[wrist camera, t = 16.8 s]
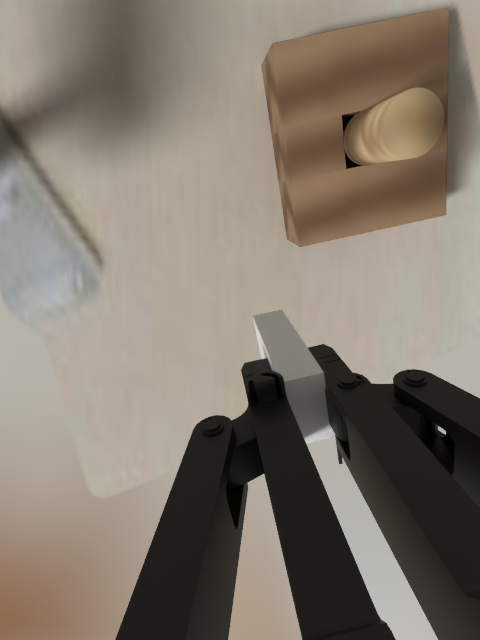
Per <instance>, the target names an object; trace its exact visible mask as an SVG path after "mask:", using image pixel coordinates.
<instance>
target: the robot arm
mask: <svg viewBox="0 0 480 640" xmlns="http://www.w3.org/2000/svg"><path fill="white" fill-rule="evenodd" d="M253 319H254V324H255V329H256V334H257V339H258V344H259V350H260V355H261V359H260V360H256V361H252V362H247V363H244V365H243V367H242V369H241V371H242V376H243V380H244V385H245V389H246V394H247V398H248V408H247V410H246V411H245V413H243V414H242V415H241V416H240V417H238V418H236V419H234V420H232V421H231V420H230V419H229V418H228V417H225V416H219V415H216V416H211V417H208V418H206V419H204V420H202V421H200V422H199V423H198V424H197V425H196V426H195V428H194V430H193V432H192V435H191V437H190V440H189V443H188V446H187V448H186V451H185V454H184V456H183V459H182V462H181V464H180V467H179V470H178V473H177V476H176V478H175V481H174V483H173V486H172V489H171V491H170V494H169V497H168V500H167V502H166V505H165V508H164V510H163V513H162V516H161V518H160V521H159V524H158V527H157V529H156V532H155V535H154V537H153V540H152V543H151V545H150V548H149V551H148V553H147V556H146V559H145V562H144V564H143V567H142V570H141V572H140V575H139V578H138V580H137V583H136V586H135V589H134V591H133V594H132V597H131V599H130V602H129V605H128V608H127V610H126V613H125V615H124V618H123V621H122V624H121V626H120V629H119V632H118V634H117V637H116V640H228V636H229V628H230V620H231V613H232V605H233V597H234V590H235V583H236V575H237V567H238V560H239V552H240V544H241V537H242V529H243V522H244V514H245V506H246V499H247V491H248V485H247V482H249V481H251V480H253V479H255V478H256V477H258V476H260V475H262V474H265V478H266V482H267V487H268V491H269V495H270V500H271V504H272V509H273V513H274V517H275V522H276V526H277V531H278V535H279V539H280V544H281V548H282V552H283V557H284V561H285V566H286V570H287V574H288V578H289V583H290V587H291V592H292V596H293V601H294V605H295V609H296V614H297V618H298V622H299V627H300V631H301V635H302V640H395V638H394V636H393V633H392V631H391V630H390V628H389V627H388V625H387V623H385V622H384V621H382V620H381V619H380V617H379V616H378V614H377V611H376V609H375V607H374V605H373V602H372V600H371V598H370V595H369V593H368V590H367V588H366V586H365V583H364V581H363V578H362V576H361V574H360V571H359V569H358V566H357V564H356V562H355V559H354V557H353V554H352V552H351V550H350V547H349V545H348V543H347V540H346V538H345V535H344V533H343V531H342V528H341V526H340V523H339V521H338V519H337V516H336V514H335V511H334V509H333V507H332V504H331V502H330V500H329V497H328V495H327V492H326V490H325V488H324V485H323V483H322V480H321V478H320V476H319V473H318V471H317V469H316V466H315V464H314V461H313V459H312V457H311V454H310V452H309V450H308V447H307V445H306V444H307V443H311V442H315V441H319V440H324V439H328V438H332V432H331V427H332V429H333V431H334V432H335V436H336V444H337V452H338V460H339V464H342V457H343V459H344V461H345V463H346V465H347V466H348V468H349V470H350V472H351V474H352V476H353V478H354V479H355V482H356V484H357V485H358V487H359V489H360V491H361V493H362V495H363V497H364V499H365V501H366V503H367V504H368V506H369V508H370V510H371V512H372V514H373V516H374V518H375V520H376V522H377V524H378V526H379V527H380V529H381V531H382V533H383V535H384V537H385V539H386V541H387V542H388V544H389V546H390V548H391V550H392V552H393V554H394V556H395V558H396V560H397V562H398V564H399V565H400V567H401V569H402V571H403V573H404V575H405V577H406V579H407V581H408V583H409V585H410V586H411V588H412V590H413V592H414V594H415V596H416V598H417V600H418V602H419V604H420V605H421V607H422V609H423V611H424V613H425V615H426V617H427V619H428V621H429V622H430V625H431V627H432V628H433V630H434V632H435V634H436V636H437V638H438V640H480V398H478V397H476V396H474V395H472V394H470V393H468V392H466V391H464V390H462V389H460V388H458V387H456V386H454V385H453V384H450V383H449V382H447V381H445V380H443V379H441V378H439V377H437V376H435V375H433V374H431V373H428V372H426V371H422V370H415V369H412V370H405V371H401V372H399V373H397V374H396V375H395V376H394V378H393V384H371V383H370V381H369V380H368V379H367V378H366V377H364V376H363V375H360V374H357V373H352V372H351V370H350V369H349V368H348V367H347V365H346V364H345V363H344V362H343V361H342V360H341V358H340V357H339V356H338V355H337V353H336V352H335V351H334V350H333V348H331V347H328V346H326V345H324V344H322V345H318V346H314V347H309V348H307V347H306V345H305V344H304V342H303V341H302V339H301V338H300V336H299V335H298V333H297V332H296V330H295V329H294V327H293V326H292V324H291V323H290V321H289V320H288V318H287V317H286V315H285V314H284V312H283V311H282V310H278V311H274V312H269V313H265V314H260V315H256V316H253ZM438 426H440V427H441V428H443V429H444V430H445V431H446V435H445V434H443V433H441V432H440V431H439V430H438Z"/></svg>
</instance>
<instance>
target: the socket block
mask: <svg viewBox="0 0 480 640" xmlns="http://www.w3.org/2000/svg"><path fill="white" fill-rule="evenodd" d="M448 31H449V7H448V8H443V9H438V10H433V11H428V12H423V13H419V14H414V15H409V16H404V17H399V18H394V19H389V20H384V21H379V22H374V23H369V24H364V25H359V26H354V27H349V28H345V29H340V30H335V31H330V32H325V33H320V34H315V35H310V36H305V37H300V38H295V39H290V40H285V41H280V42H276V43H272V45H271V47H270V49H269V51H268V53H267V55H266V57H265V59H264V61H263V63H262V72H263V79H264V86H265V92H266V99H267V106H268V113H269V119H270V126H271V133H272V140H273V146H274V153H275V160H276V167H277V173H278V180H279V187H280V194H281V201H282V207H283V214H284V221H285V228H286V234H287V240H289V241H291V242H293V243H294V244H296V245H298V246H299V247H303V246H307V245H312V244H316V243H321V242H325V241H330V240H334V239H339V238H344V237H348V236H353V235H357V234H362V233H366V232H371V231H375V230H380V229H385V228H389V227H394V226H398V225H403V224H407V223H412V222H416V221H421V220H426V219H430V218H435V217H439V216H444V215H446V184H447V107H448ZM417 87H418V88H426V89H428V90H430V91H432V92H433V93H434V94H436V96H437V97H438V98H439V100H440V101H441V104H442V107H443V111H444V124H443V129H442V132H441V135H440V137H439V139H438V141H437V142H436V144H435V145H434V146H433V147H432V148H431V149H430V150H429V151H428V152H427V153H425V154H424V155H422V156H420V157H417V158H412V159H405V160H398V161H391V162H384V163H377V164H372V165H367V166H363V165H356V166H351V167H346V161H345V149H344V144H343V137H344V136H343V124H342V121H345V120H350V119H352V117H353V116H355V115H356V114H357V113H359V112H361V111H363V110H366V109H368V108H370V107H372V106H375V105H377V104H379V103H381V102H383V101H385V100H387V99H389V98H391V97H394V96H396V95H398V94H400V93H402V92H404V91H406V90H408V89H412V88H417Z"/></svg>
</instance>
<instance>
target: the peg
mask: <svg viewBox="0 0 480 640" xmlns="http://www.w3.org/2000/svg"><path fill="white" fill-rule="evenodd" d="M443 124H444V111H443V107H442V104H441V101H440V100H439V98H438V97H437V96H436V94H434V93H433V92H432V91H430V90H428V89H426V88H418V87H417V88H412V89H408V90H406V91H404V92H402V93H400V94H398V95H396V96H394V97H391V98H389V99H387V100H385V101H383V102H381V103H379V104H377V105H375V106H372V107H370V108H368V109H366V110H363V111H361V112H359V113H357V114H356V115H355V116H353V117H352V119H351V120H350V121H349V123H348V124H347V126H346V127H344V128H343V136H344V137H343V144H344V149H345V161H350V160H351V161H353V162H354V163H356V164H358V165H363V166H367V165H372V164H377V163H384V162H391V161H398V160H405V159H412V158H417V157H420V156H422V155H424V154H425V153H427V152H428V151H429V150H430V149H431V148H432V147H433V146H434V145H435V144H436V142H437V141H438V139H439V137H440V135H441V132H442V129H443Z"/></svg>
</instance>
